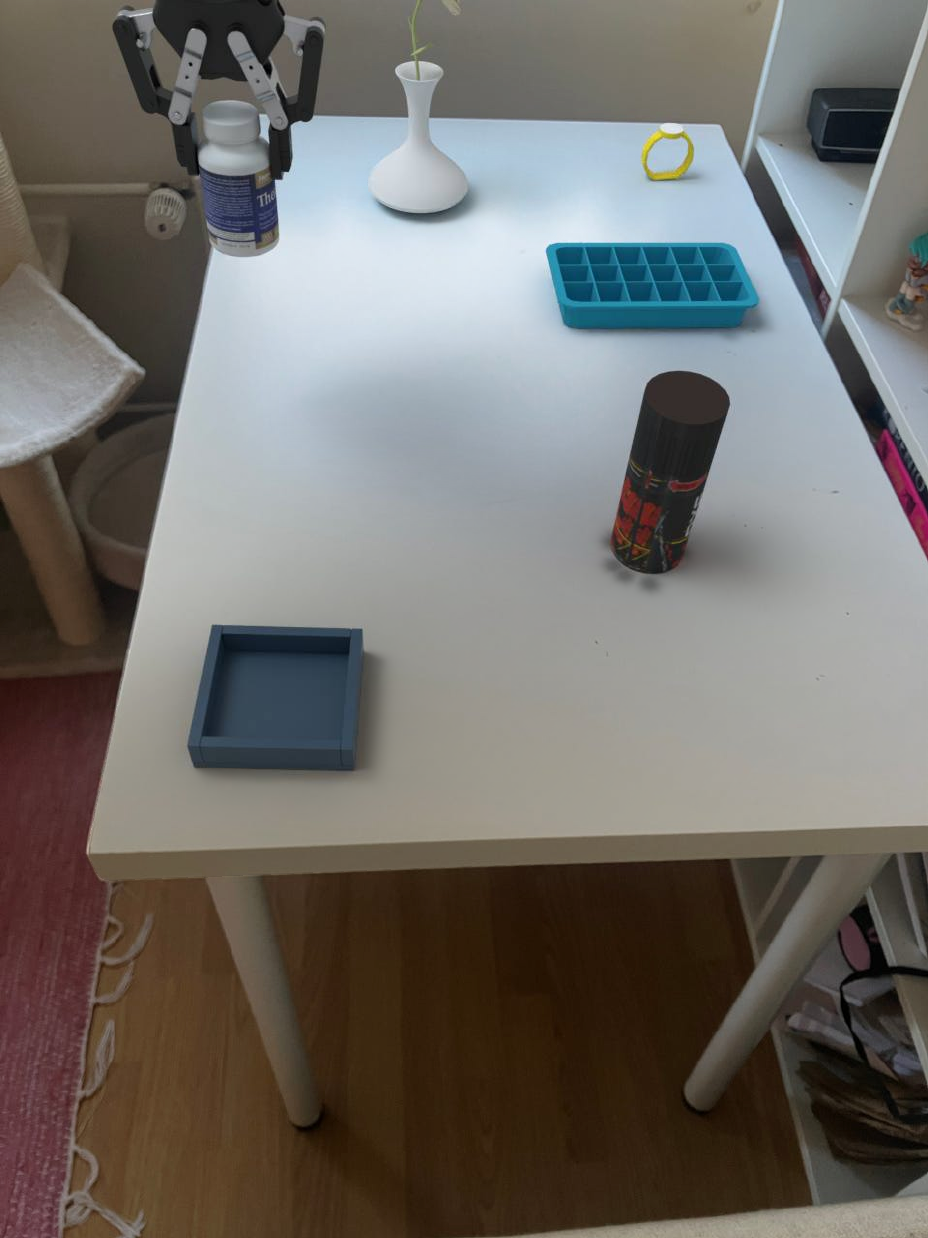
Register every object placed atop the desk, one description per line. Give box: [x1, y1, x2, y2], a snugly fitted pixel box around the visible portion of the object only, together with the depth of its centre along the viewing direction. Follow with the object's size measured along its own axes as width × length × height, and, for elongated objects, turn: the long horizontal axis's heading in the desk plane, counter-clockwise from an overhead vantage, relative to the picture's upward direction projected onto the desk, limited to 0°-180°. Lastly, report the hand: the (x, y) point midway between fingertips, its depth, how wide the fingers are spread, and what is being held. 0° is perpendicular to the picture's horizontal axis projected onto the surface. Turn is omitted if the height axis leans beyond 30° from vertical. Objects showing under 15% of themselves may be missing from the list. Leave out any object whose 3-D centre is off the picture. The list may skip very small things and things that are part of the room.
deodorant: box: [610, 370, 731, 575], centre depth 75 cm, size 6×6×15 cm
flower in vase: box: [367, 0, 469, 214], centre depth 106 cm, size 13×11×25 cm
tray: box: [186, 624, 365, 771], centre depth 69 cm, size 11×10×3 cm
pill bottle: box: [197, 99, 280, 258], centre depth 74 cm, size 5×5×10 cm
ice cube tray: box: [545, 242, 760, 329], centre depth 103 cm, size 12×20×3 cm, turn 94°
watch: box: [640, 122, 695, 182], centre depth 118 cm, size 6×3×6 cm, turn 97°
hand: (237, 171), depth 73 cm, fingers closed on pill bottle, 5 cm apart
